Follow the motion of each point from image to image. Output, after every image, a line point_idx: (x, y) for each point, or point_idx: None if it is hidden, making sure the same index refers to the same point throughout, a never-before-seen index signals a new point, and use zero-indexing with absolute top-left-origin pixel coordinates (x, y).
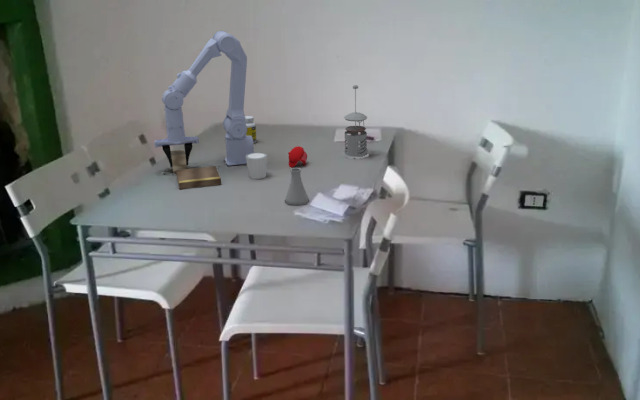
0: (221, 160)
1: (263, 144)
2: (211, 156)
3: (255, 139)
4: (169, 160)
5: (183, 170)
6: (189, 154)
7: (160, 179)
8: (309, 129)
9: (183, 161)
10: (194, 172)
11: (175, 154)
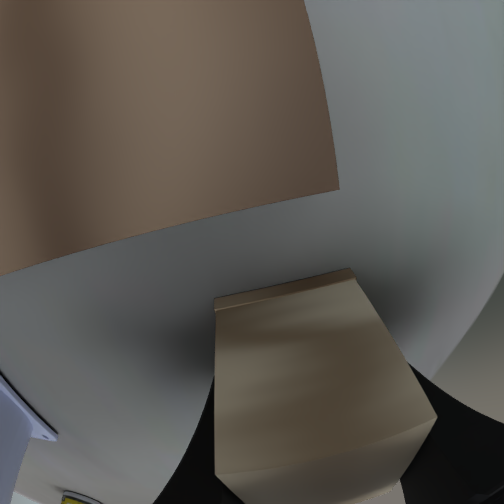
0: (67, 430)
1: (36, 477)
2: (143, 470)
3: (62, 499)
4: (418, 378)
5: (222, 164)
6: (175, 474)
7: (451, 104)
8: (16, 488)
9: (249, 380)
10: (50, 76)
11: (373, 459)
